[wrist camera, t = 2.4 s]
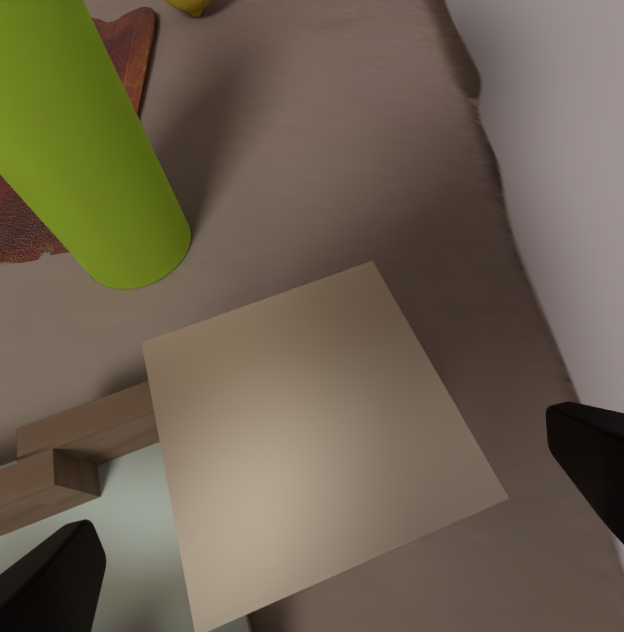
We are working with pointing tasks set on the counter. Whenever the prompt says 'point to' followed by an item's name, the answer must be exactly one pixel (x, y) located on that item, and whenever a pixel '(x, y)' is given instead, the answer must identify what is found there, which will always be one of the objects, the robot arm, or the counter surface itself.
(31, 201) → the soap dispenser
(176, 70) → the counter surface
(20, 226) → the wooden tablet
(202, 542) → the birch post
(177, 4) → the lemon
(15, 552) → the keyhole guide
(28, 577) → the robot arm
